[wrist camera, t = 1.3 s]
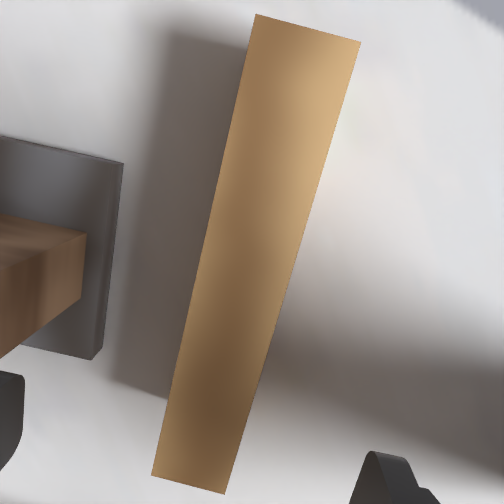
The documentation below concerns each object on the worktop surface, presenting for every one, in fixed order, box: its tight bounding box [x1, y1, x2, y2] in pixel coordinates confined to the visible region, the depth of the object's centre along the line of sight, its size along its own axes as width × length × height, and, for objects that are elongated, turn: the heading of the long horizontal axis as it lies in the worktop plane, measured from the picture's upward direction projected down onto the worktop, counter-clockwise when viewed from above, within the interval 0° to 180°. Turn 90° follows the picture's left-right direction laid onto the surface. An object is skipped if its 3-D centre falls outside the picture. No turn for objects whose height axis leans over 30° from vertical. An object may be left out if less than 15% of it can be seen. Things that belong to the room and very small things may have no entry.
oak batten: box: [151, 14, 361, 495], centre depth 20 cm, size 4×22×6 cm, turn 166°
